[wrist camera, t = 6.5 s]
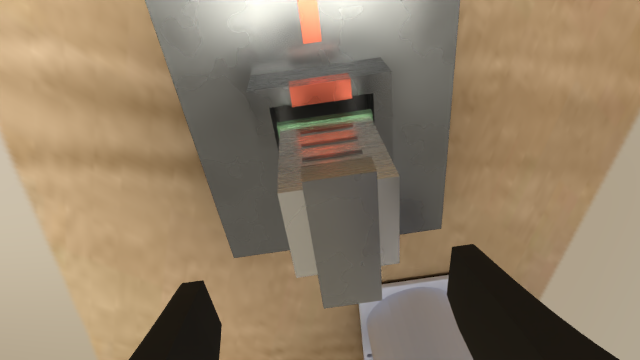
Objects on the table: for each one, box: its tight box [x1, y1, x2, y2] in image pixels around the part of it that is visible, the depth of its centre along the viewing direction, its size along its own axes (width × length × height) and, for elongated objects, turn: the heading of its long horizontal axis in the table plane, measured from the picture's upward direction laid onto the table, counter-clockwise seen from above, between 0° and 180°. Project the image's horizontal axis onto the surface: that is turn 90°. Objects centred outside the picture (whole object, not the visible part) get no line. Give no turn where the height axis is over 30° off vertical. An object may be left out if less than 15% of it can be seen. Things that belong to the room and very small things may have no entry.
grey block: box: [277, 109, 400, 309], centre depth 13 cm, size 5×4×6 cm
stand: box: [145, 0, 460, 258], centre depth 17 cm, size 16×13×4 cm
